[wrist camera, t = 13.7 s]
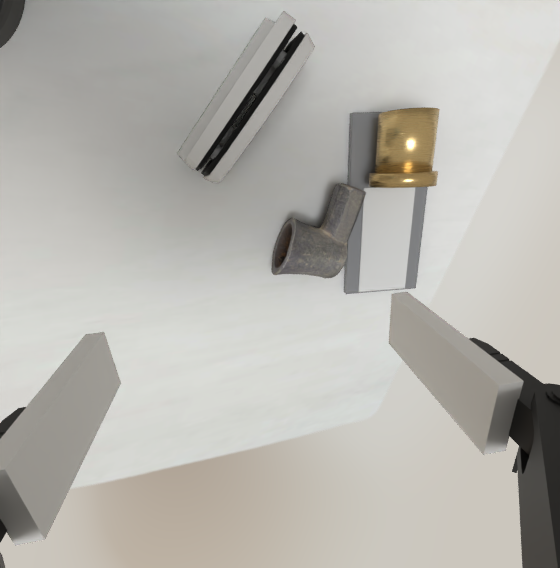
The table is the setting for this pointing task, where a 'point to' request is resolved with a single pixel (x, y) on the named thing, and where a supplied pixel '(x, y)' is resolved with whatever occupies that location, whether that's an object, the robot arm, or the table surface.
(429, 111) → the cylinder
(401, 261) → the base
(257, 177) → the table surface
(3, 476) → the robot arm
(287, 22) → the grey napkin holder
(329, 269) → the pipe
